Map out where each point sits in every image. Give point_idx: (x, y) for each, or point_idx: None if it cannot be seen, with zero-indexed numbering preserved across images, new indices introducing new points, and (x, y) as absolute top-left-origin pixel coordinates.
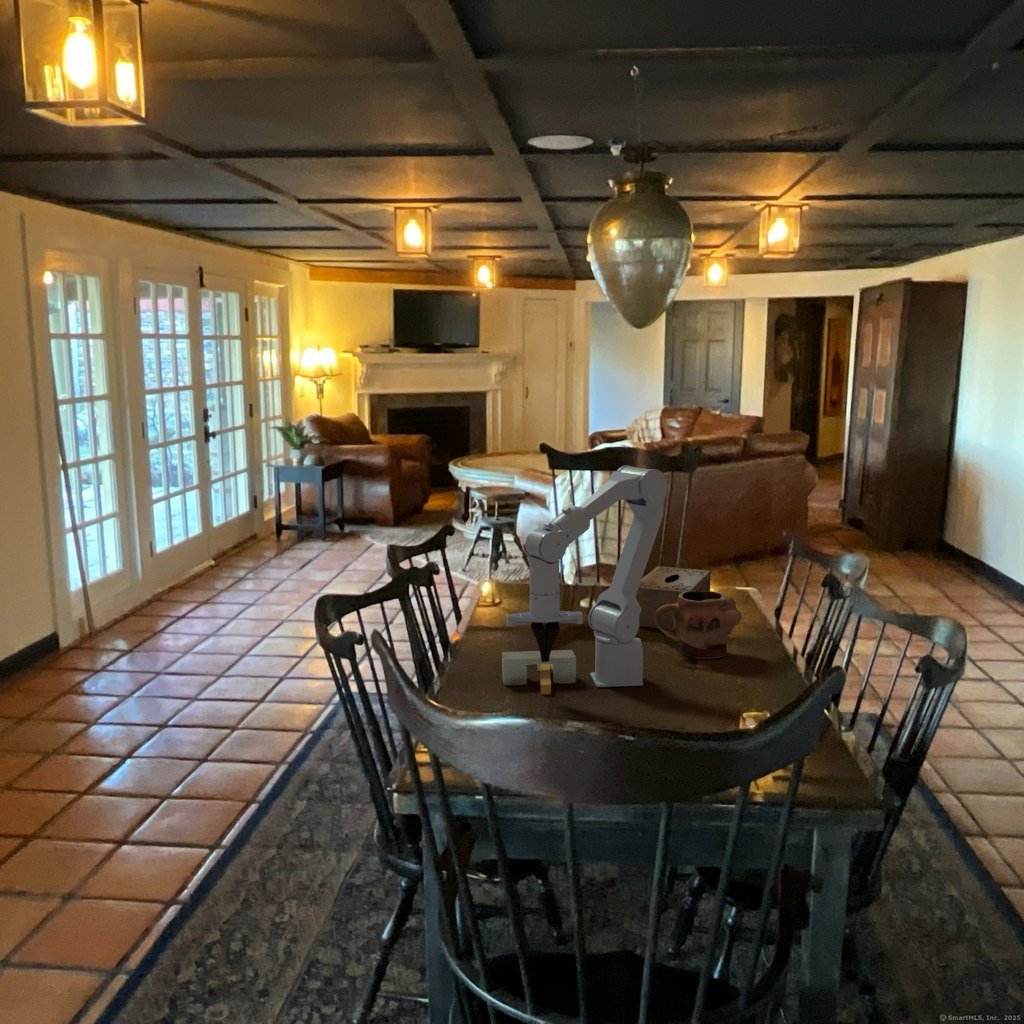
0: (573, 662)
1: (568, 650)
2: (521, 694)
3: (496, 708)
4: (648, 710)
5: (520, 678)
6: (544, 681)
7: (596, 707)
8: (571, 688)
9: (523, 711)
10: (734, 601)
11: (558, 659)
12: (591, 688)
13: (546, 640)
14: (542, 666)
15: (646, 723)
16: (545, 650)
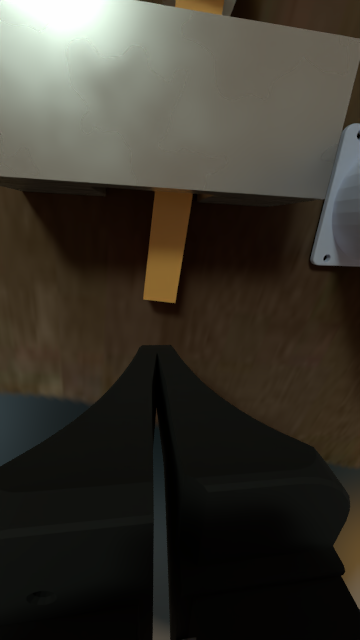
0: (299, 200)
1: (340, 48)
2: (86, 286)
3: (20, 376)
4: (343, 400)
5: (76, 192)
6: (159, 269)
7: (255, 382)
8: (239, 254)
9: (91, 395)
10: None
11: (242, 194)
12: (292, 262)
13: (166, 478)
14: None
15: None
16: (159, 404)
